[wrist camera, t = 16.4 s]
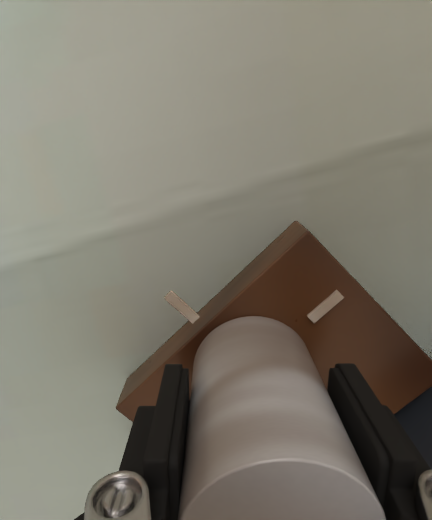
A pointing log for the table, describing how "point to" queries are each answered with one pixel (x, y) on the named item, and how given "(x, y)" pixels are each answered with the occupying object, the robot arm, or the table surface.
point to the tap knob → (267, 433)
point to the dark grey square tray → (419, 423)
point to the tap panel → (297, 323)
